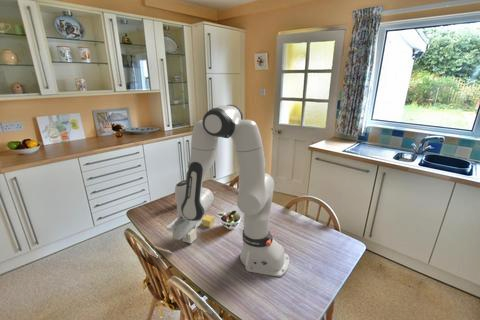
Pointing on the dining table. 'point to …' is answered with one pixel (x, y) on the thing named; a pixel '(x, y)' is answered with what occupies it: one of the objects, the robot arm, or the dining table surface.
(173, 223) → the build plate
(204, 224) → the block
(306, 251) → the dining table surface
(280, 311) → the dining table surface
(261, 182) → the robot arm
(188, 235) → the block
